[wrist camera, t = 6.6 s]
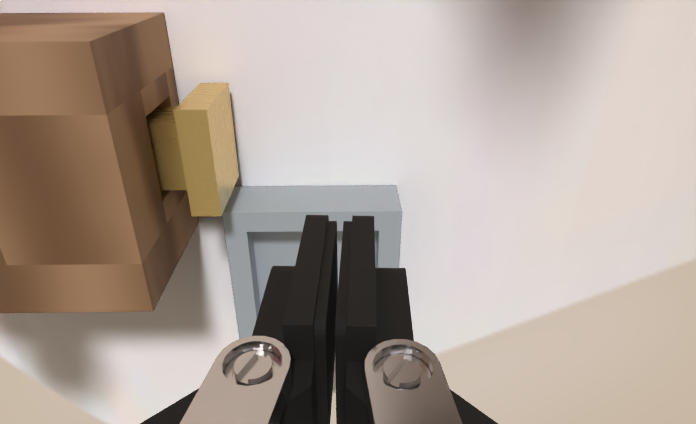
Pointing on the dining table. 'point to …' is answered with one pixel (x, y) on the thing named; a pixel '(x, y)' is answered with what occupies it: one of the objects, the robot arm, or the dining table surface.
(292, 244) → the grey square tray
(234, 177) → the tan wooden t-shaped piece
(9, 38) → the socket block
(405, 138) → the dining table surface
